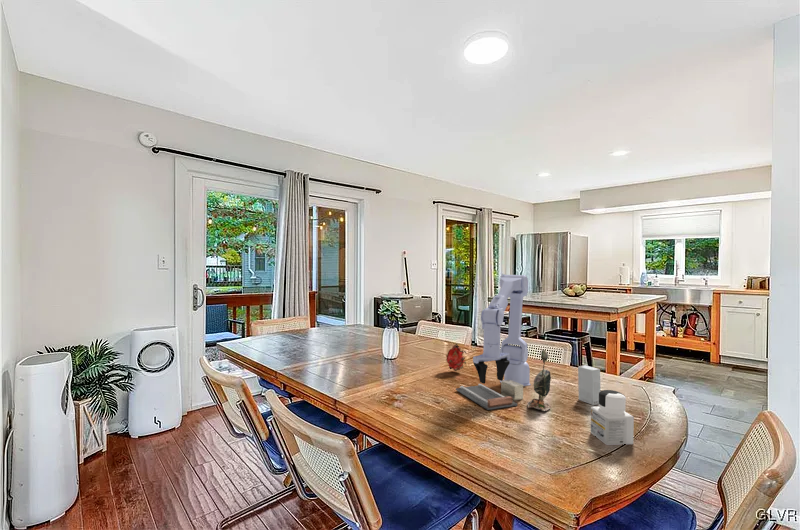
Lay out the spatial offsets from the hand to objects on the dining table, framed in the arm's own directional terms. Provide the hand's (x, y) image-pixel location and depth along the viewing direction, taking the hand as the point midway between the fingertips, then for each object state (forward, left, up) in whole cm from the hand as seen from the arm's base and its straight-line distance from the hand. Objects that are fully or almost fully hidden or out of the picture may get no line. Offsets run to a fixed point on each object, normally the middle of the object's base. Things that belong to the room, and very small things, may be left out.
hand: (491, 381), depth 136 cm
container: (-15, +36, -7) cm, 40 cm away
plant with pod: (-12, +10, -7) cm, 18 cm away
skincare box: (-32, +13, -7) cm, 35 cm away
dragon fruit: (-6, -36, -7) cm, 37 cm away
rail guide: (0, -4, -7) cm, 8 cm away
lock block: (-10, -1, -7) cm, 12 cm away
